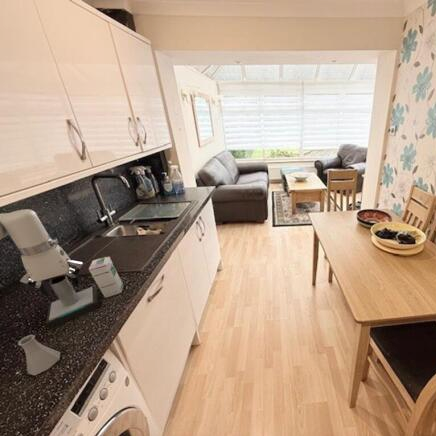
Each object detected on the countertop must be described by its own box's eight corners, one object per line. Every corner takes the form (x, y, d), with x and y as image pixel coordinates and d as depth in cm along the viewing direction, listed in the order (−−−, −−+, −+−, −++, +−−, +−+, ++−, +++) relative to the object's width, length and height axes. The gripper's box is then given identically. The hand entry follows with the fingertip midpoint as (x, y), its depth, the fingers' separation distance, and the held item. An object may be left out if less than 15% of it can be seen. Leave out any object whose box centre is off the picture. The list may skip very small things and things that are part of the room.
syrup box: (122, 292, 94) (107, 262, 88) (104, 298, 92) (87, 268, 86) (123, 284, 99) (109, 255, 93) (106, 289, 96) (91, 260, 90)
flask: (24, 367, 68) (4, 343, 64) (57, 347, 73) (40, 324, 69) (31, 381, 64) (10, 357, 60) (64, 358, 70) (47, 335, 65)
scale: (49, 328, 80) (44, 322, 79) (52, 308, 89) (48, 302, 87) (99, 306, 88) (96, 300, 87) (97, 290, 96) (94, 284, 95)
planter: (63, 301, 87) (49, 279, 83) (79, 295, 90) (66, 273, 85) (63, 308, 84) (48, 286, 80) (79, 302, 87) (66, 279, 82)
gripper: (74, 234, 83) (95, 275, 91) (7, 250, 76) (36, 292, 84) (67, 244, 77) (91, 286, 85) (-6, 261, 70) (26, 306, 78)
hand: (63, 289), depth 84 cm, fingers open, 7 cm apart
